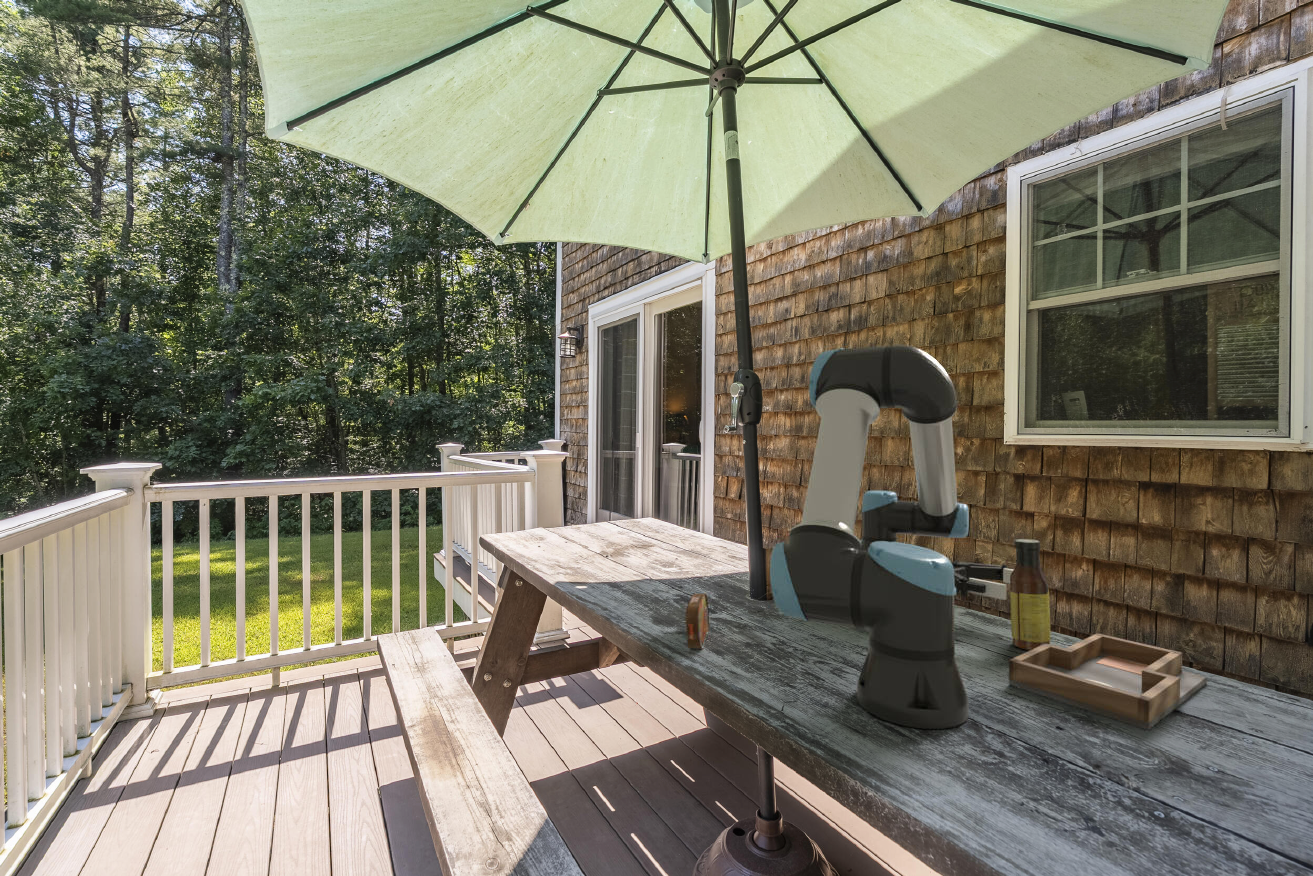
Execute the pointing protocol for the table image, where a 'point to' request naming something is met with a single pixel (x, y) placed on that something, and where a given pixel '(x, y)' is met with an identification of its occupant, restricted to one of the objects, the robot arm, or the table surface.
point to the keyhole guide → (1108, 678)
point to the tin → (697, 620)
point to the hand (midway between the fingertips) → (1023, 586)
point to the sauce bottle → (1029, 598)
